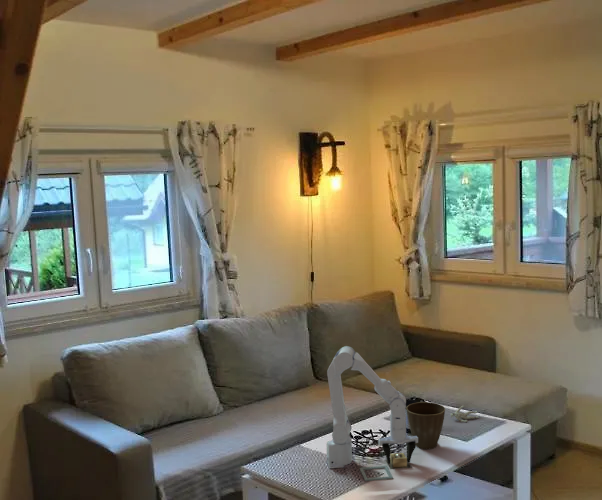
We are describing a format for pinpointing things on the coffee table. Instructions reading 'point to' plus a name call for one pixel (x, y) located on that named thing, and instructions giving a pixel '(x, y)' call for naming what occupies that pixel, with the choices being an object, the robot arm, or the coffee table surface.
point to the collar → (398, 460)
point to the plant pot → (426, 423)
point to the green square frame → (376, 477)
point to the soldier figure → (463, 415)
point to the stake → (401, 466)
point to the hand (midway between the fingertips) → (398, 462)
